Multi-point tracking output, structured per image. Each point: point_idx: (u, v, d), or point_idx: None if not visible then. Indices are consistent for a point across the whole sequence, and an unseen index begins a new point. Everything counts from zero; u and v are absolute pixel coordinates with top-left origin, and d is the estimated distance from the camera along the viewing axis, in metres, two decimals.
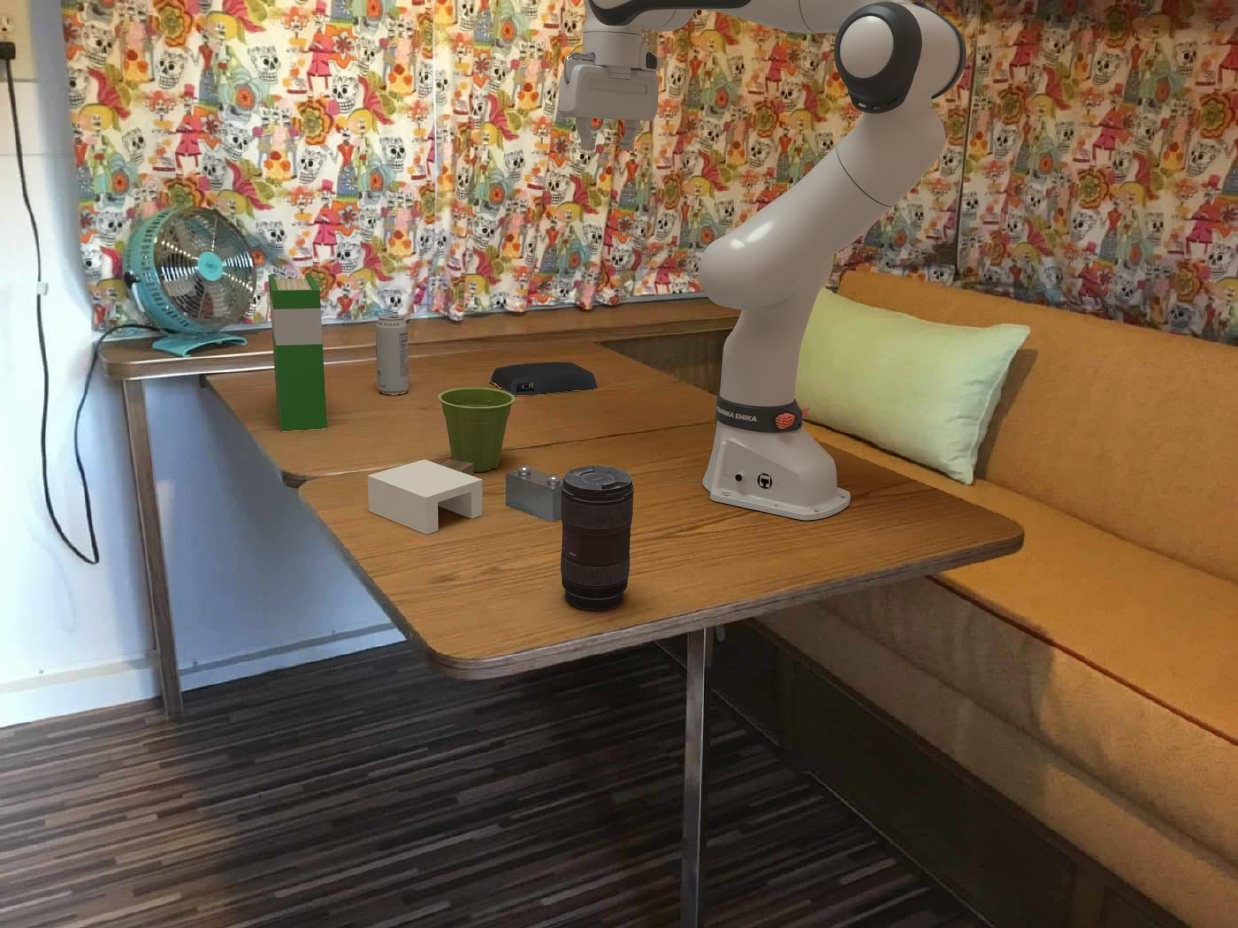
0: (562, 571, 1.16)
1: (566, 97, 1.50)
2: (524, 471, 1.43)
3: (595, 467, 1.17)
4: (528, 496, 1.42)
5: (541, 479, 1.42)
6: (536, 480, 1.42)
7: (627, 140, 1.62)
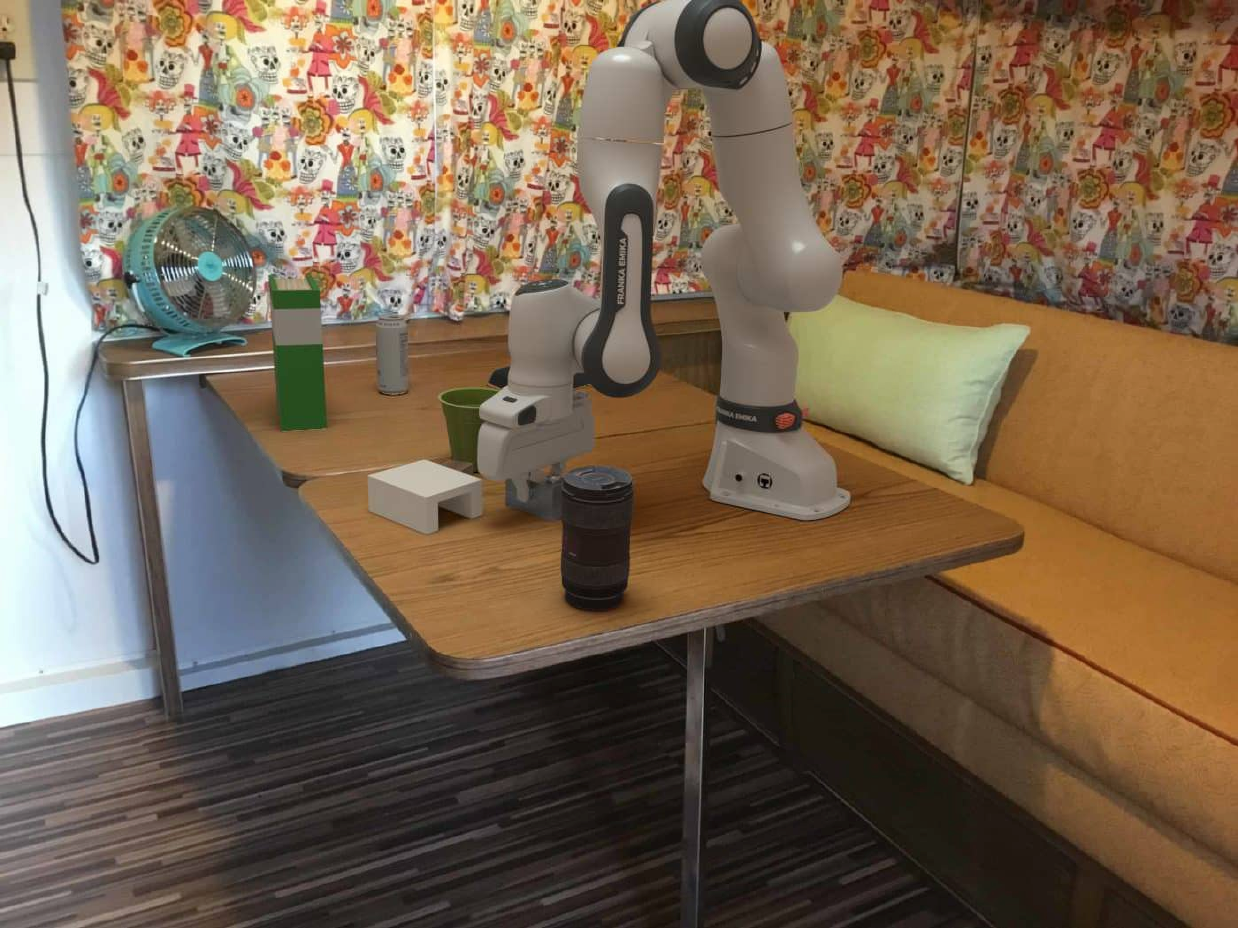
0: (562, 571, 1.16)
1: None
2: None
3: (595, 467, 1.16)
4: None
5: (540, 478, 1.42)
6: (536, 479, 1.42)
7: None
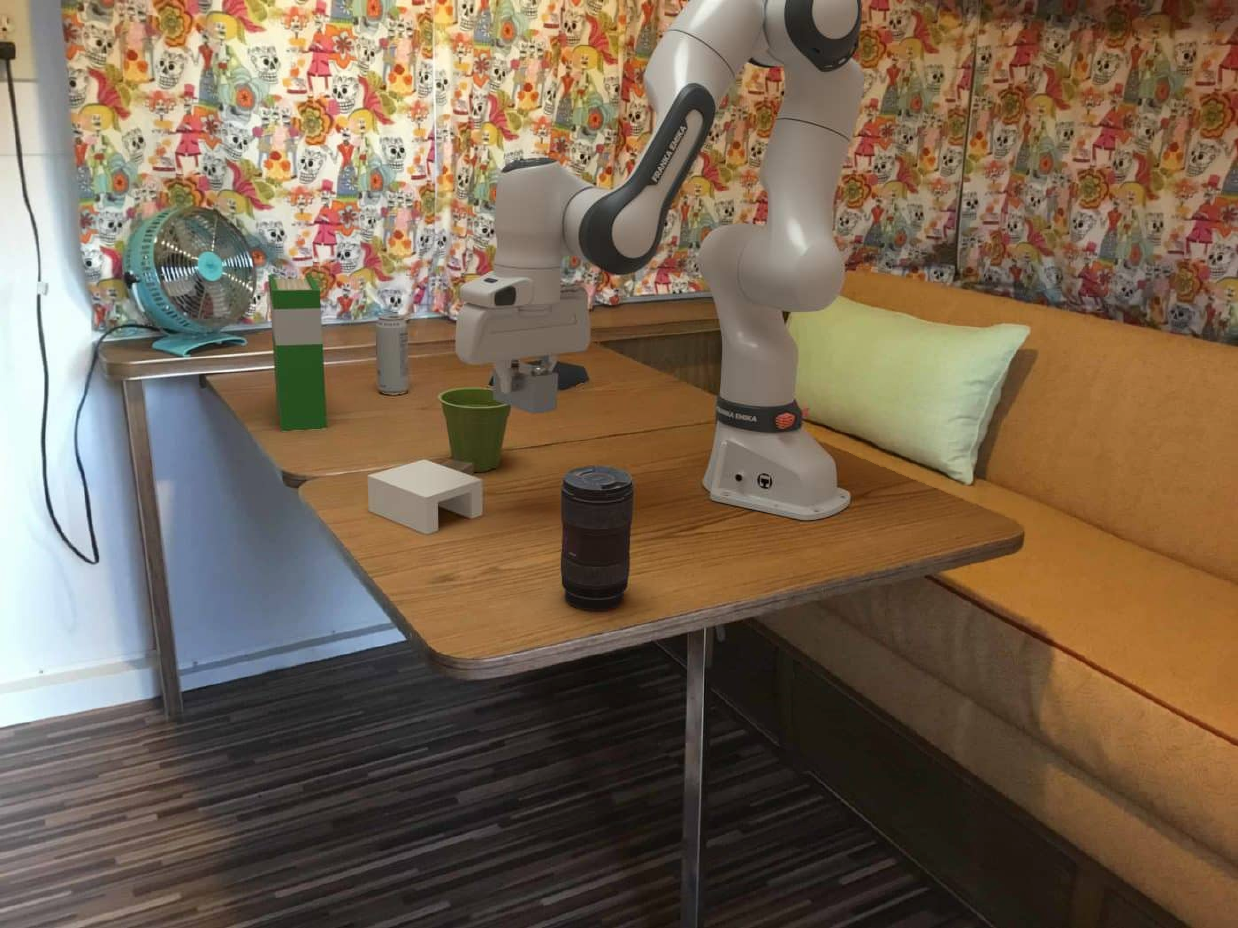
0: (562, 571, 1.16)
1: None
2: (511, 362, 1.38)
3: (595, 467, 1.17)
4: None
5: (526, 370, 1.37)
6: (521, 370, 1.36)
7: None
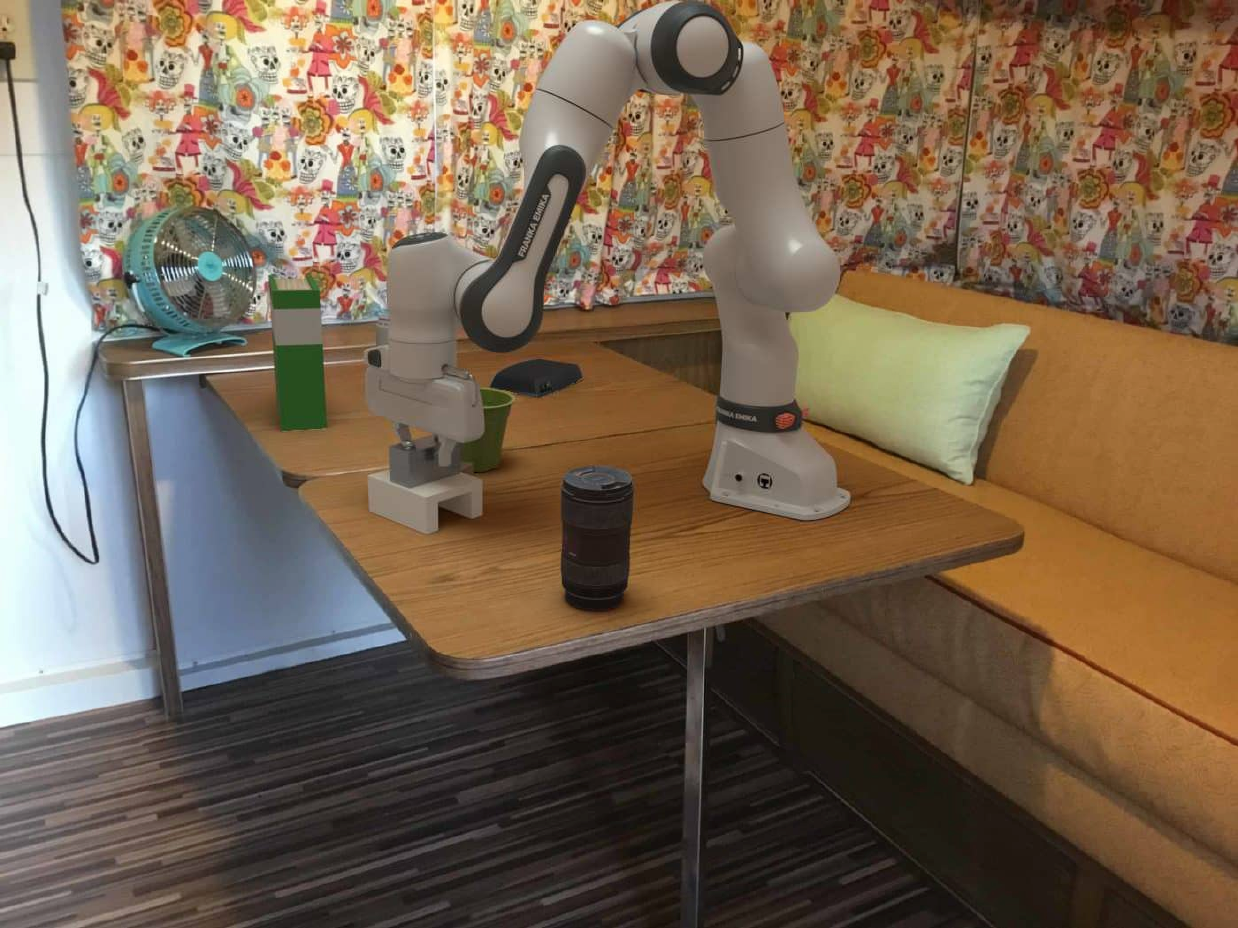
0: (562, 571, 1.16)
1: (475, 421, 1.31)
2: (434, 434, 1.40)
3: (595, 467, 1.16)
4: None
5: (418, 443, 1.38)
6: (416, 441, 1.38)
7: None
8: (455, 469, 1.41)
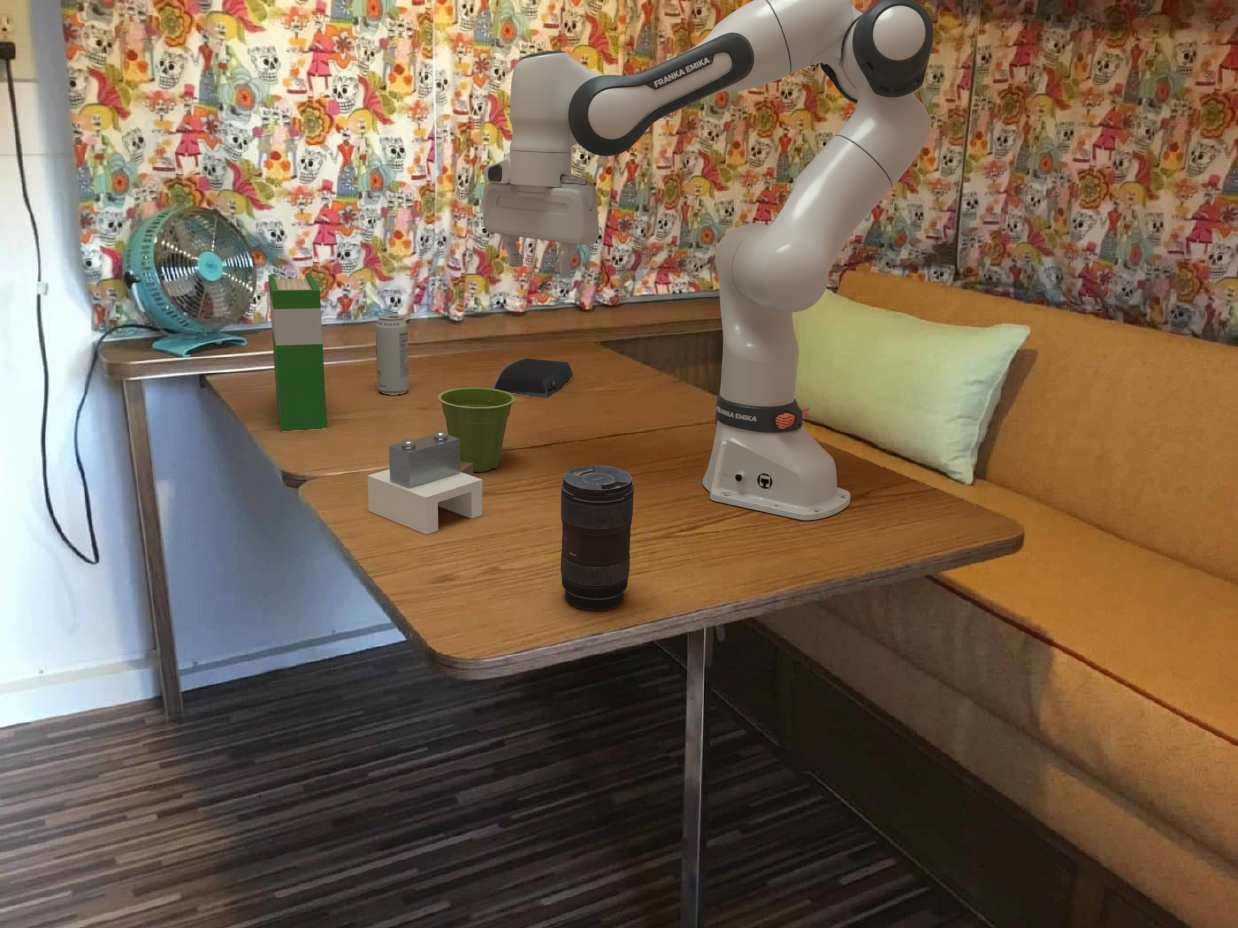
0: (562, 571, 1.16)
1: (592, 225, 1.42)
2: (434, 434, 1.40)
3: (595, 467, 1.17)
4: None
5: (418, 443, 1.38)
6: (416, 441, 1.38)
7: (522, 256, 1.53)
8: (455, 469, 1.41)
